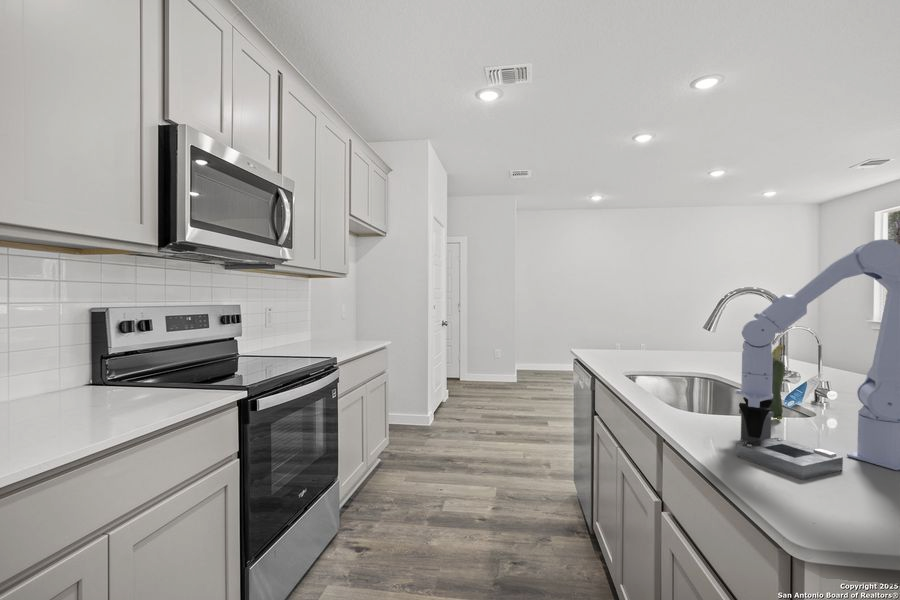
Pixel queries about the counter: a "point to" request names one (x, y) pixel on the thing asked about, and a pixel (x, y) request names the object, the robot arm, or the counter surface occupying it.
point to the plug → (765, 431)
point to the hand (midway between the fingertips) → (755, 432)
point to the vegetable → (777, 383)
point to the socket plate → (790, 457)
